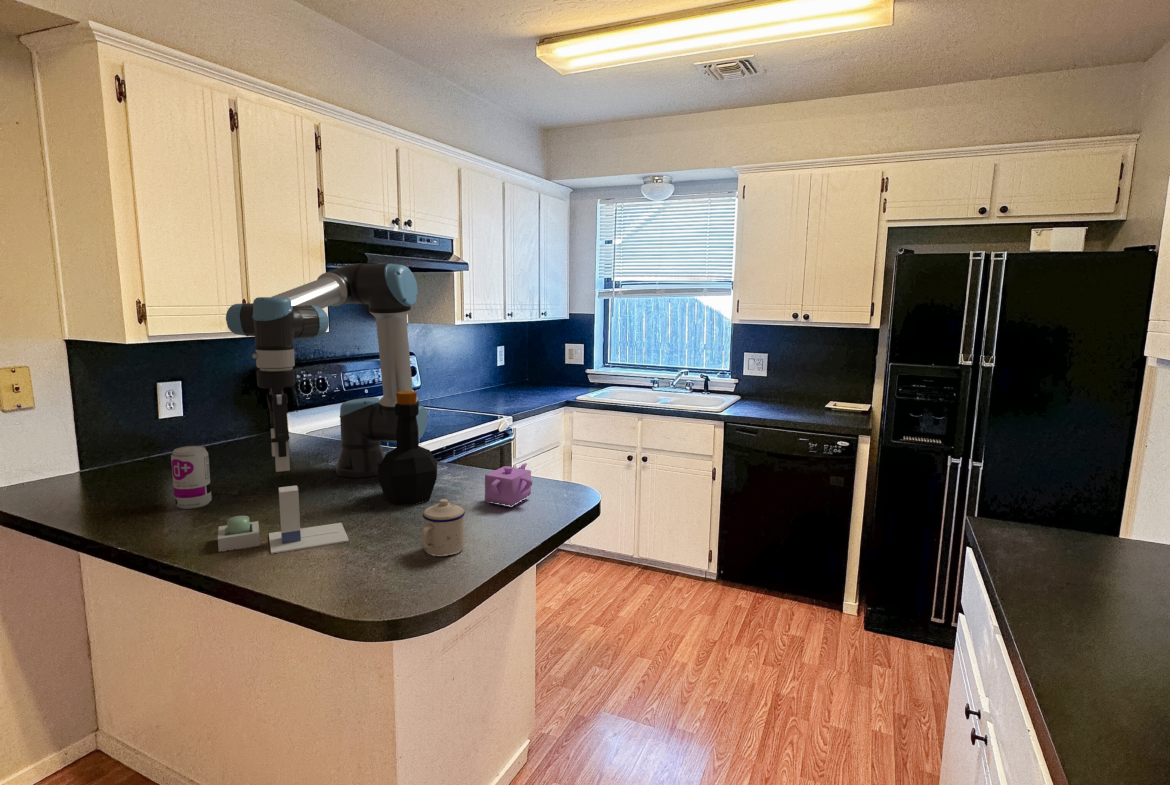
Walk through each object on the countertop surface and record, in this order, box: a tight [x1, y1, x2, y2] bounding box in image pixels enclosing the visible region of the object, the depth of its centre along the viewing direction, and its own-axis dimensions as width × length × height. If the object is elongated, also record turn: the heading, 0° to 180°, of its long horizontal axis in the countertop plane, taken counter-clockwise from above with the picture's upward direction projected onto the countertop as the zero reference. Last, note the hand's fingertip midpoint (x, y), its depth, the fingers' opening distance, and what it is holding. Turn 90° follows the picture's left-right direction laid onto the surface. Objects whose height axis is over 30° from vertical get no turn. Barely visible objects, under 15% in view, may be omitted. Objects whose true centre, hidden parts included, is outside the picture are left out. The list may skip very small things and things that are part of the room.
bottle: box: [377, 390, 438, 506], centre depth 171 cm, size 16×16×30 cm
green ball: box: [226, 515, 251, 535], centre depth 141 cm, size 4×4×4 cm
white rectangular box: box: [278, 485, 301, 544], centre depth 142 cm, size 4×4×12 cm
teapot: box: [484, 463, 534, 506], centre depth 172 cm, size 18×14×10 cm
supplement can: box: [170, 445, 213, 510], centre depth 163 cm, size 8×8×15 cm
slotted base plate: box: [268, 522, 350, 555], centre depth 145 cm, size 16×12×1 cm
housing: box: [217, 520, 261, 553], centre depth 141 cm, size 8×8×3 cm
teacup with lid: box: [419, 498, 466, 555], centre depth 138 cm, size 12×9×12 cm
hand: (280, 462), depth 140 cm, fingers open, 13 cm apart
